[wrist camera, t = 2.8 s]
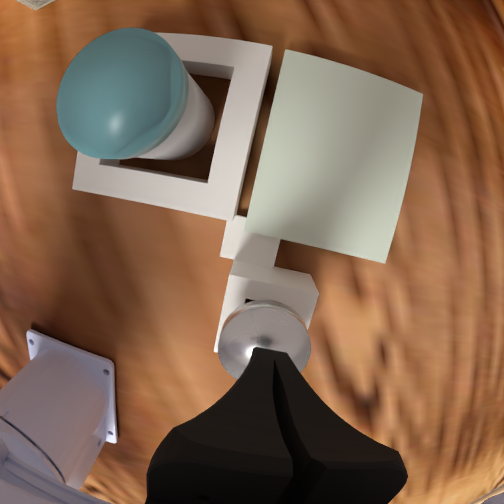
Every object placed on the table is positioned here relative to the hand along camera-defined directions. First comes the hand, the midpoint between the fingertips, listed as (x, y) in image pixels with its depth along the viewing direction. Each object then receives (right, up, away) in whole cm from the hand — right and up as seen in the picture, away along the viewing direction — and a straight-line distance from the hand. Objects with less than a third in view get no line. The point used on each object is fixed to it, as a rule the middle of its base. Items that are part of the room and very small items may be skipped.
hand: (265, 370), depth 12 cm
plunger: (0, +1, +5) cm, 5 cm away
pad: (+4, +10, +5) cm, 12 cm away
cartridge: (-5, +12, +4) cm, 13 cm away
